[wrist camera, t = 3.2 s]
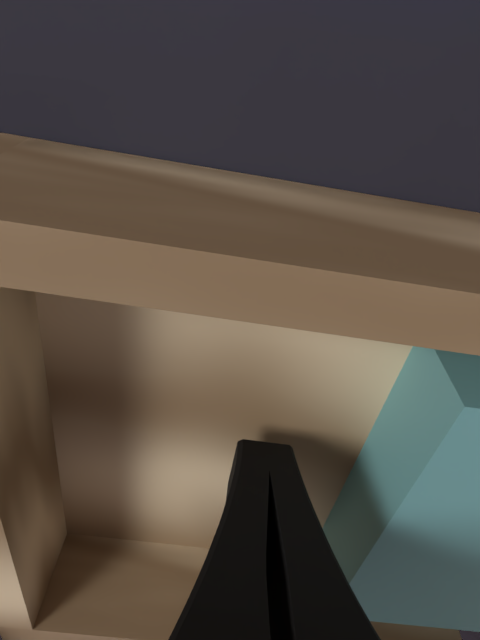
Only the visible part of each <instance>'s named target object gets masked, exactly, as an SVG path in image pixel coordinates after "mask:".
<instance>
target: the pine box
mask: <svg viewBox="0 0 480 640" xmlns="http://www.w3.org/2000/svg"><path fill="white" fill-rule="evenodd" d="M413 346H416V347H423V348H430V349H437V350H444V351H451V352H457V353H464V354H471V355H478V356H480V213H477V212H471V211H465V210H459V209H453V208H447V207H441V206H435V205H429V204H423V203H417V202H411V201H405V200H399V199H393V198H387V197H381V196H375V195H370V194H364V193H358V192H352V191H346V190H340V189H334V188H328V187H322V186H316V185H310V184H304V183H298V182H292V181H286V180H280V179H274V178H268V177H262V176H256V175H250V174H244V173H238V172H232V171H226V170H220V169H214V168H208V167H202V166H196V165H191V164H185V163H179V162H173V161H167V160H161V159H155V158H149V157H143V156H137V155H131V154H125V153H119V152H113V151H107V150H101V149H95V148H89V147H83V146H77V145H71V144H65V143H59V142H53V141H47V140H41V139H35V138H29V137H23V136H18V135H12V134H6V133H0V634H1V637H2V639H3V640H168V639H169V637H170V635H171V633H172V631H173V629H174V627H175V625H176V623H177V621H178V619H179V617H180V615H181V613H182V610H183V608H184V606H185V604H186V602H187V600H188V598H189V596H190V593H191V591H192V589H193V587H194V584H195V582H196V580H197V578H198V575H199V573H200V571H201V568H202V566H203V564H204V561H205V559H206V556H207V554H208V551H209V549H210V546H211V543H212V541H213V538H214V536H215V533H216V530H217V528H218V525H219V522H220V519H221V516H222V513H223V510H224V507H225V502H226V496H227V487H228V481H229V476H230V472H231V468H232V463H233V459H234V455H235V450H236V446H237V442H238V441H240V440H242V439H246V440H254V441H262V442H271V443H279V444H287V445H290V446H291V447H292V448H293V451H294V455H295V458H296V461H297V464H298V467H299V470H300V473H301V476H302V479H303V482H304V484H305V487H306V490H307V492H308V495H309V498H310V500H311V503H312V505H313V508H314V510H315V512H316V515H317V517H318V519H319V522H320V524H321V526H322V528H323V526H324V524H325V522H326V520H327V518H328V516H329V514H330V512H331V510H332V508H333V506H334V504H335V502H336V500H337V498H338V496H339V494H340V492H341V490H342V488H343V486H344V484H345V482H346V480H347V478H348V476H349V474H350V472H351V470H352V468H353V466H354V464H355V462H356V459H357V457H358V455H359V453H360V451H361V449H362V447H363V445H364V443H365V441H366V439H367V437H368V435H369V433H370V431H371V429H372V427H373V425H374V423H375V421H376V419H377V417H378V415H379V413H380V411H381V409H382V407H383V405H384V403H385V401H386V399H387V397H388V395H389V393H390V391H391V389H392V387H393V385H394V383H395V381H396V379H397V377H398V375H399V373H400V371H401V369H402V367H403V365H404V363H405V361H406V359H407V357H408V355H409V353H410V351H411V349H412V347H413ZM370 622H371V624H372V626H373V627H374V629H375V631H376V632H377V634H378V636H379V637H380V639H381V640H462V638H461V635H460V632H459V630H455V629H445V628H435V627H425V626H414V625H404V624H394V623H384V622H373V621H370Z"/></svg>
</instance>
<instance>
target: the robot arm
mask: <svg viewBox="0 0 480 640" xmlns="http://www.w3.org/2000/svg"><path fill="white" fill-rule="evenodd" d="M168 640H381V639H380V637H379V636H378V634H377V632H376V631H375V629H374V627H373V626H372V624H371V622H370V621H369V619H368V617H367V615H366V614H365V612H364V610H363V608H362V607H361V605H360V603H359V601H358V600H357V598H356V596H355V594H354V592H353V590H352V588H351V587H350V585H349V583H348V581H347V579H346V577H345V575H344V573H343V571H342V569H341V567H340V565H339V563H338V561H337V559H336V557H335V555H334V553H333V551H332V548H331V546H330V544H329V542H328V540H327V538H326V535H325V533H324V531H323V529H322V526H321V524H320V522H319V519H318V517H317V515H316V512H315V510H314V508H313V505H312V503H311V500H310V498H309V495H308V492H307V490H306V487H305V484H304V482H303V479H302V476H301V473H300V470H299V467H298V464H297V461H296V458H295V455H294V451H293V448H292V447H291V446H290V445H287V444H279V443H271V442H262V441H254V440H246V439H242V440H240V441H238V442H237V446H236V450H235V455H234V459H233V463H232V468H231V472H230V476H229V481H228V487H227V496H226V502H225V507H224V510H223V513H222V516H221V519H220V522H219V525H218V528H217V530H216V533H215V536H214V538H213V541H212V543H211V546H210V549H209V551H208V554H207V556H206V559H205V561H204V564H203V566H202V568H201V571H200V573H199V575H198V578H197V580H196V582H195V584H194V587H193V589H192V591H191V593H190V596H189V598H188V600H187V602H186V604H185V606H184V608H183V610H182V613H181V615H180V617H179V619H178V621H177V623H176V625H175V627H174V629H173V631H172V633H171V635H170V637H169V639H168Z"/></svg>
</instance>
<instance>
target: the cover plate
mask: <svg viewBox="0 0 480 640" xmlns="http://www.w3.org/2000/svg"><path fill="white" fill-rule="evenodd" d="M322 529H323V531H324V533H325V535H326V538H327V540H328V542H329V544H330V546H331V548H332V551H333V553H334V555H335V557H336V559H337V561H338V563H339V565H340V567H341V569H342V571H343V573H344V575H345V577H346V579H347V581H348V583H349V585H350V587H351V588H352V590H353V592H354V594H355V596H356V598H357V600H358V601H359V603H360V605H361V607H362V608H363V610H364V612H365V614H366V615H367V617H368V619H369V621H373V622H384V623H394V624H404V625H414V626H425V627H435V628H445V629H455V630H466V631H476V632H480V356H478V355H471V354H464V353H457V352H451V351H444V350H437V349H430V348H423V347H416V346H413V347H412V349H411V351H410V353H409V355H408V357H407V359H406V361H405V363H404V365H403V367H402V369H401V371H400V373H399V375H398V377H397V379H396V381H395V383H394V385H393V387H392V389H391V391H390V393H389V395H388V397H387V399H386V401H385V403H384V405H383V407H382V409H381V411H380V413H379V415H378V417H377V419H376V421H375V423H374V425H373V427H372V429H371V431H370V433H369V435H368V437H367V439H366V441H365V443H364V445H363V447H362V449H361V451H360V453H359V455H358V457H357V459H356V462H355V464H354V466H353V468H352V470H351V472H350V474H349V476H348V478H347V480H346V482H345V484H344V486H343V488H342V490H341V492H340V494H339V496H338V498H337V500H336V502H335V504H334V506H333V508H332V510H331V512H330V514H329V516H328V518H327V520H326V522H325V524H324V526H323V528H322Z"/></svg>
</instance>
